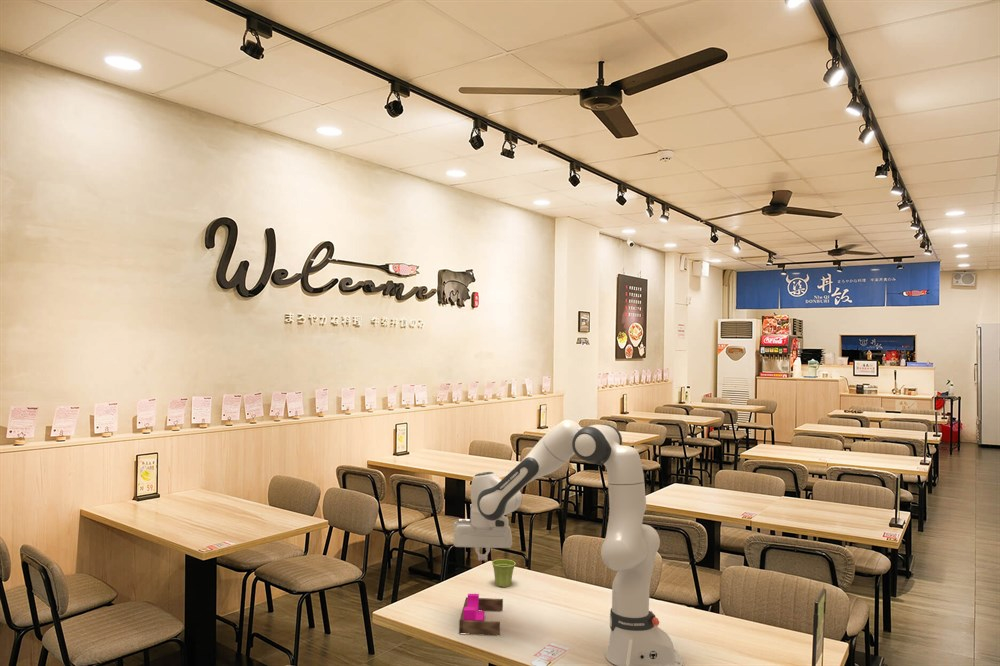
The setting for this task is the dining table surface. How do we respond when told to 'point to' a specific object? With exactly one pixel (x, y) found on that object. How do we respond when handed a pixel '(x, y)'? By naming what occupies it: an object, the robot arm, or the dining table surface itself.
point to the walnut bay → (482, 626)
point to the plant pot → (503, 572)
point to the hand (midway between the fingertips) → (482, 560)
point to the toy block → (473, 609)
